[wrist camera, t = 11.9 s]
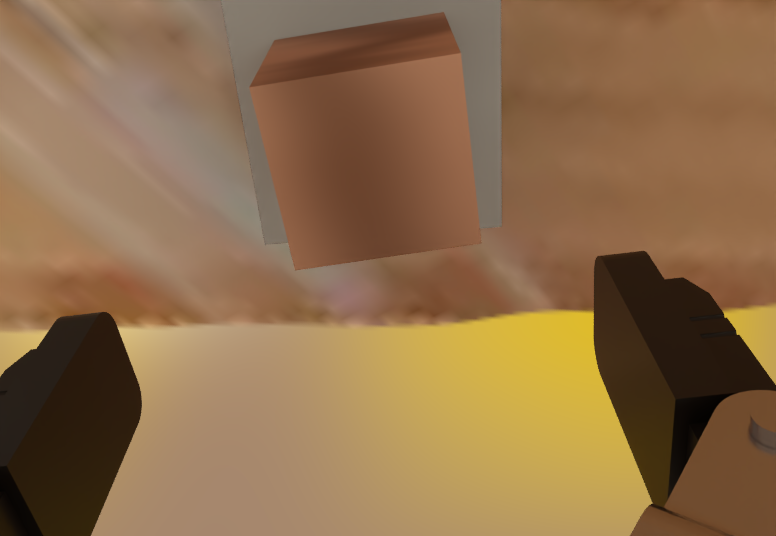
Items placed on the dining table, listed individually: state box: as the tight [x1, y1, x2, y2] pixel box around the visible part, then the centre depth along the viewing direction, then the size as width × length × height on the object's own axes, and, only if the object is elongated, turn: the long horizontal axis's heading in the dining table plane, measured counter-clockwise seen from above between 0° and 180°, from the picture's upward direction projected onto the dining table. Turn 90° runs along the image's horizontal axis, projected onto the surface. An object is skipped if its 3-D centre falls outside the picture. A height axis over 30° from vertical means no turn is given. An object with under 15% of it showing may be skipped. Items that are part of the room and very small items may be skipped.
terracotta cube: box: [249, 12, 481, 270], centre depth 21 cm, size 5×5×5 cm
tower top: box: [221, 0, 502, 244], centre depth 25 cm, size 8×8×5 cm
